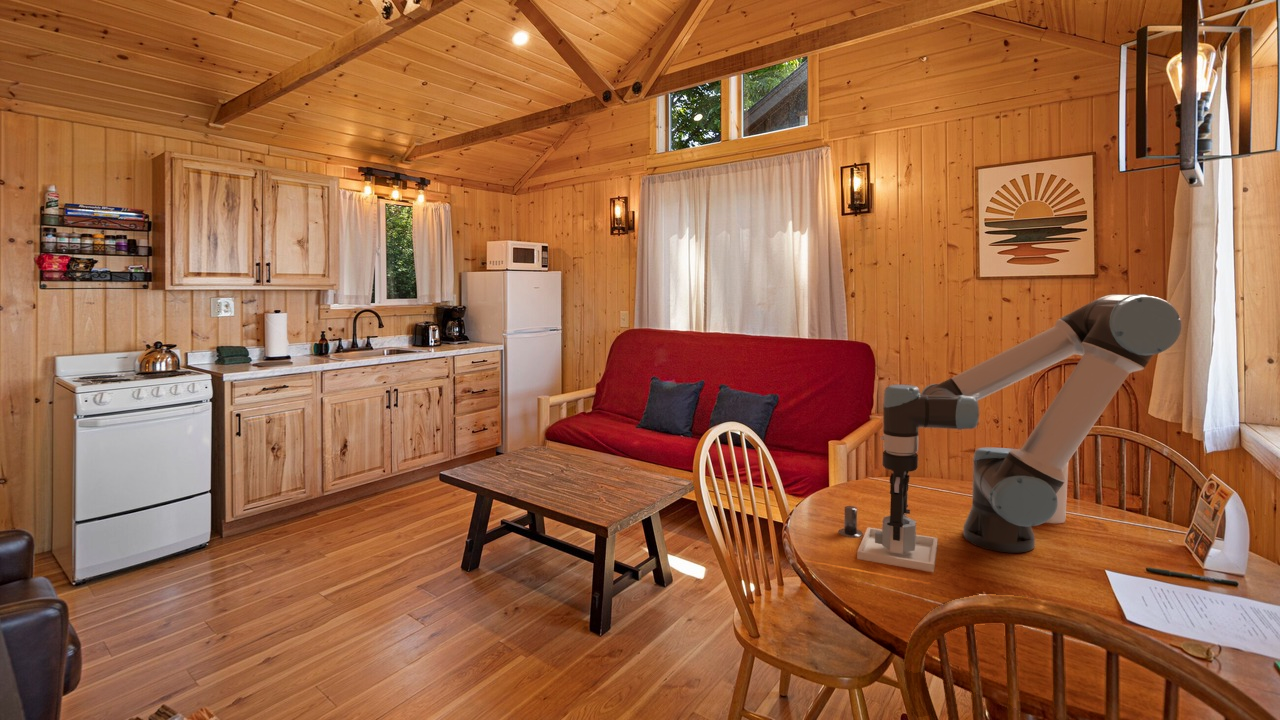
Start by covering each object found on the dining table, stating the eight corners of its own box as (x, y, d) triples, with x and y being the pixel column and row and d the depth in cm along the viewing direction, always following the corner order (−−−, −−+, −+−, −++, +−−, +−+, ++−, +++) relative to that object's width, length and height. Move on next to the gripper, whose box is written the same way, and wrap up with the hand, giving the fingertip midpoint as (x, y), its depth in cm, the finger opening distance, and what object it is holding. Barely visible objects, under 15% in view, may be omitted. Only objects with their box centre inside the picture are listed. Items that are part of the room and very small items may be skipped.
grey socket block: (916, 542, 145) (916, 518, 144) (913, 553, 139) (914, 528, 138) (877, 536, 149) (877, 512, 148) (873, 547, 143) (873, 522, 142)
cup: (1071, 524, 158) (1074, 464, 156) (1036, 522, 159) (1039, 463, 158) (1056, 512, 166) (1059, 456, 164) (1023, 511, 167) (1025, 455, 166)
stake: (864, 532, 157) (865, 505, 156) (860, 540, 151) (861, 513, 151) (840, 528, 160) (840, 502, 159) (836, 536, 154) (836, 510, 154)
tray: (937, 546, 147) (937, 537, 147) (933, 574, 133) (933, 564, 133) (867, 535, 154) (867, 527, 154) (857, 560, 140) (857, 551, 140)
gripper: (888, 440, 151) (886, 528, 154) (877, 460, 134) (875, 559, 137) (921, 443, 148) (918, 533, 150) (914, 464, 130) (911, 566, 133)
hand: (898, 545), depth 143 cm, fingers closed on grey socket block, 7 cm apart
